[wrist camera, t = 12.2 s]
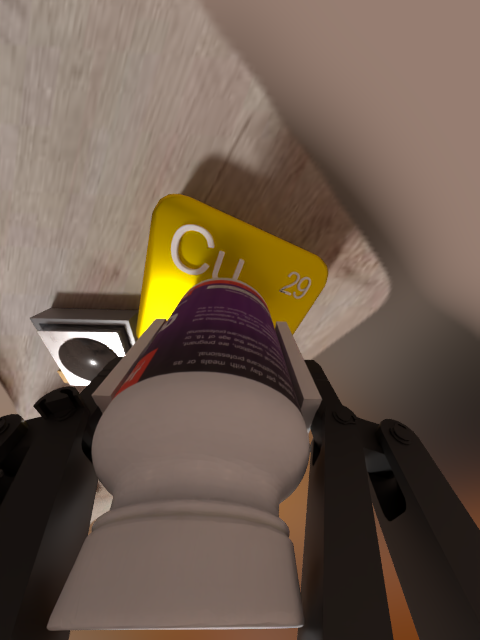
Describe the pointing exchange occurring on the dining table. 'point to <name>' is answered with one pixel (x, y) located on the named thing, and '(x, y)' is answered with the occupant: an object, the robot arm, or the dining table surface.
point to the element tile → (223, 262)
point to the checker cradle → (88, 320)
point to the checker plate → (84, 348)
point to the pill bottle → (196, 479)
